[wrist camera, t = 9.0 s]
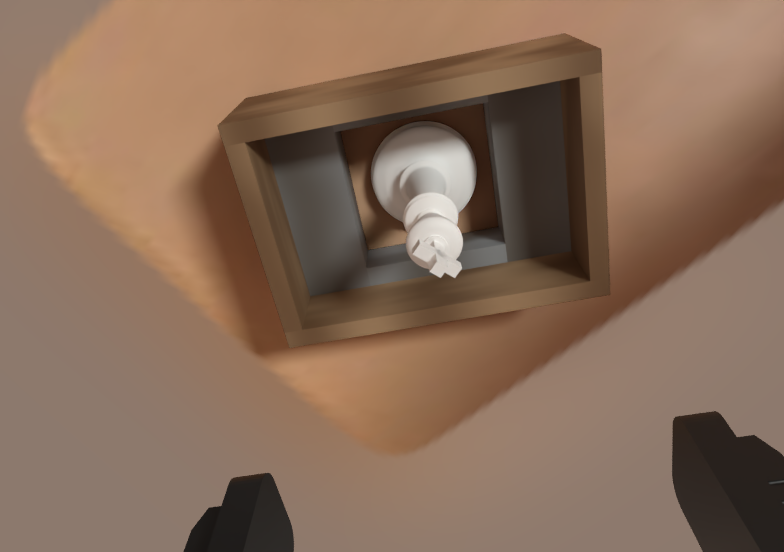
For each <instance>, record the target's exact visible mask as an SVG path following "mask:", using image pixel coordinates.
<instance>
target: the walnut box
mask: <svg viewBox="0 0 784 552" xmlns="http://www.w3.org/2000/svg"><path fill="white" fill-rule="evenodd" d="M481 103H483V106H484V114H485V122H486V130H487V138H488V146H489V154H490V162H491V170H492V178H493V186H494V194H495V202H496V211H497V219H498V227H496V228H490V229H485V230H479V231H473V232H468V233H462V237H463V247H462V251H461V253H460V255H459V257H458V258H457V259H456V260H457V261H459V262H461V266H462V269H461V270H460V272H459V273H458V274H457V276H456V277H455V278H454V277H452V276H450V275H448V274H446V273H444V274H443V276H442V277H441V278H440V277H438V276H436V275H434V274H433V273H431V272H429V269H426V268H423V267H421V266H419V265H417V264H416V263H415V262H414V261H413V260H412V259H411V258H410V256H409V254H408V252H407V249H406V244H400V245H395V246H389V247H384V248H378V249H372V250H368V248H367V244H366V240H365V236H364V231H363V227H362V223H361V218H360V214H359V210H358V206H357V201H356V197H355V193H354V188H353V184H352V180H351V176H350V171H349V167H348V163H347V158H346V154H345V150H344V146H343V141H342V137H341V133H340V131H343V130H348V129H353V128H358V127H364V126H369V125H374V124H379V123H384V122H389V121H394V120H399V119H405V118H410V117H415V116H420V115H425V114H430V113H435V112H440V111H445V110H451V109H456V108H461V107H466V106H471V105H476V104H481ZM218 129H219V132H220V135H221V138H222V141H223V144H224V147H225V150H226V153H227V156H228V159H229V163H230V166H231V169H232V172H233V175H234V178H235V181H236V184H237V187H238V190H239V193H240V197H241V200H242V203H243V206H244V209H245V212H246V215H247V218H248V221H249V224H250V227H251V231H252V234H253V237H254V240H255V243H256V246H257V249H258V252H259V255H260V258H261V261H262V265H263V268H264V271H265V274H266V277H267V280H268V283H269V286H270V289H271V292H272V295H273V299H274V302H275V305H276V308H277V311H278V314H279V317H280V320H281V323H282V326H283V329H284V333H285V336H286V339H287V342H288V345H289V348H293V347H299V346H305V345H311V344H317V343H323V342H329V341H335V340H341V339H347V338H353V337H359V336H365V335H371V334H377V333H383V332H389V331H395V330H401V329H407V328H413V327H419V326H425V325H431V324H437V323H443V322H449V321H455V320H461V319H467V318H473V317H479V316H485V315H491V314H497V313H503V312H509V311H515V310H521V309H527V308H533V307H539V306H545V305H551V304H557V303H563V302H570V301H576V300H582V299H588V298H594V297H600V296H606V295H610V275H609V247H608V220H607V192H606V165H605V137H604V109H603V82H602V54H601V49H600V48H598V47H596V46H593V45H591V44H589V43H586V42H584V41H582V40H579V39H577V38H575V37H572V36H570V35H568V34H560V35H555V36H550V37H545V38H540V39H535V40H530V41H526V42H521V43H516V44H511V45H506V46H501V47H496V48H491V49H486V50H481V51H476V52H471V53H466V54H461V55H457V56H452V57H447V58H442V59H437V60H432V61H427V62H422V63H417V64H412V65H407V66H402V67H397V68H392V69H388V70H383V71H378V72H373V73H368V74H363V75H358V76H353V77H348V78H343V79H338V80H333V81H328V82H323V83H319V84H314V85H309V86H304V87H299V88H294V89H289V90H284V91H279V92H274V93H269V94H264V95H259V96H254V97H250V98H246V99H244V100H243V101H242V102H241V103H240V104H239V105H238V106H237V107H236V108H235V109H234V110H233V111H232V112H231V113H230V114H229V115H228V116H227V117H226V118H225V119H224V120H223V121H222V122H221V123H220V124H219V125H218Z"/></svg>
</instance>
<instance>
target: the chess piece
mask: <svg viewBox="0 0 784 552" xmlns="http://www.w3.org/2000/svg"><path fill="white" fill-rule="evenodd" d="M476 177H477V166H476V160H475V156H474V153H473V151H472V149H471V147H470V145H469V144H468V142H467V141H466V140H465V139H464V137H463V136H462V135H461V134H459V133H458V132H457V131H455V130H454V129H452V128H451V127H449V126H447V125H444V124H441V123H437V122H432V121H418V122H413V123H409V124H406V125H404V126H401V127H399V128H398V129H396V130H394V131H393V132H392V133H390V134H389V135H388V136H387V137H386V138H385V139H384V140H383V141H382V143H381V144H380V145H379V147H378V149H377V150H376V153H375V155H374V158H373V161H372V166H371V181H372V186H373V189H374V192H375V194H376V197H377V199H378V201H379V203H380V204H381V205H382V207H383V208H384V209H385V210H386V211H387V212H388V213H389V214H390V215H391V216H393V217H394V218H396V219H397V220H399V221H401V222H403V224H404V227H405V229H406V231H407V233H408V235H407V239H406V249H407V252H408V254H409V256H410V258H411V259H412V260H413V261H414V262H415V263H416V264H417V265H419V266H421V267H423V268H426V269H429V272H431V273H433V274H434V275H436V276H438V277H440V278H441V277H442V276H443V274H444V273H446V274H448V275H450V276H452V277H454V278H455V277H456V276H457V274H458V273H459V272H460V270H461V269H462V266H461V262H459V261H457V260H456V259H457V258H458V257H459V255H460V253H461V251H462V247H463V237H462V234H461V231H460V230H459V228H458V227H457V223H458V213H459V212H460V211H461V210H462V209H463V208H464V207H465V206H466V205H467V203H468V202H469V200H470V198H471V196H472V194H473V192H474V189H475V185H476Z"/></svg>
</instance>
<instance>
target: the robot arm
mask: <svg viewBox="0 0 784 552" xmlns="http://www.w3.org/2000/svg"><path fill="white" fill-rule="evenodd" d="M672 453H673V455H672V476H673V484H674V489H675V492H676V496H677V499H678V502H679V504H680V507H681V509H682V511H683V513H684V515H685V517H686V519H687V521H688V523H689V525H690V527H691V529H692V530H693V533H694V535H695V536H696V538H697V540H698V543H699V545H700V547H701V548H702V550H703V552H784V456H783V455H782V454H781V453H780V452H778V451H777V450H775V449H774V448H772V447H771V446H769V445H768V444H766V443H765V442H764V441H762V440H761V439H759V438H757V437H756V436H755V435H751V436H744V437H736V435H735V434H734V432H733V431H732V430H731V429H730V427H729V425H728V424H727V422H726V421H725V420H724V418H723V417H722V416H721V415H720V414H719V413H718V412H716V411H714V412H707V413H699V414H692V415H685V416H678V417H675V418H674V420H673V452H672ZM293 551H294V539H293V530H292V526H291V523H290V520H289V517H288V515H287V512H286V510H285V507H284V504H283V502H282V499H281V497H280V494H279V491H278V489H277V486H276V484H275V481H274V479H273V477H272V475H271V474H270V473H264V474H256V475H249V476H242V477H236V478H233V479H231V481H230V483H229V485H228V488H227V491H226V494H225V497H224V500H223V503H222V506H219V507H212V508H208V510H207V511H206V512H205V513H204V515H203V516H202V517H201V519H200V520H199V521H198V522H197V524H196V525H195V526H194V528H193V529H192V530H191V533H190V536H189V538H188V541H187V544H186V547H185V549H184V552H293Z"/></svg>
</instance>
